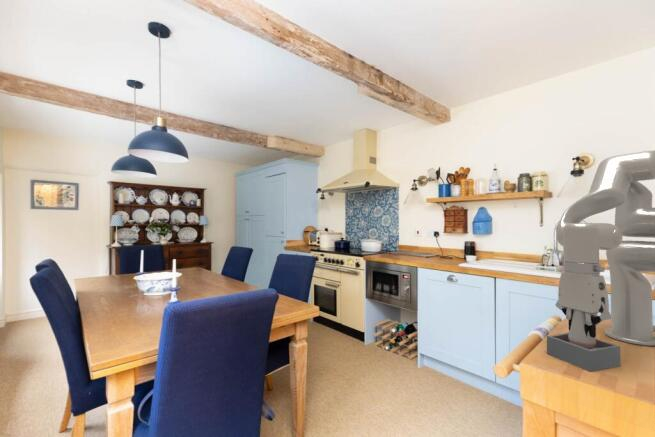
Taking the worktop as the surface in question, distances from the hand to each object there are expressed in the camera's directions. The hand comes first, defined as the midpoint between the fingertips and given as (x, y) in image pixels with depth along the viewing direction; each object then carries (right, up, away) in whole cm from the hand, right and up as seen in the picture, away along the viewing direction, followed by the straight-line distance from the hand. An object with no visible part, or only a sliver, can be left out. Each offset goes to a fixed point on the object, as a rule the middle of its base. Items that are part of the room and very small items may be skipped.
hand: (581, 336), depth 82 cm
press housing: (0, -6, 0) cm, 6 cm away
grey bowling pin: (0, -3, 0) cm, 3 cm away
